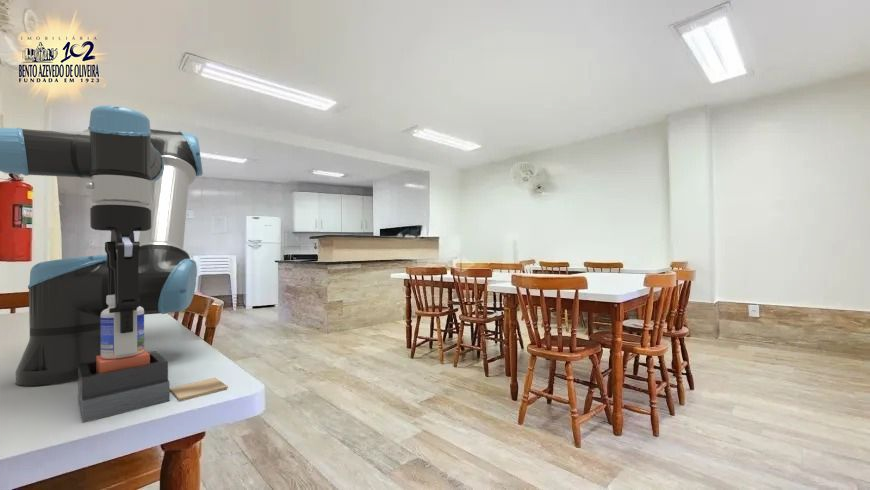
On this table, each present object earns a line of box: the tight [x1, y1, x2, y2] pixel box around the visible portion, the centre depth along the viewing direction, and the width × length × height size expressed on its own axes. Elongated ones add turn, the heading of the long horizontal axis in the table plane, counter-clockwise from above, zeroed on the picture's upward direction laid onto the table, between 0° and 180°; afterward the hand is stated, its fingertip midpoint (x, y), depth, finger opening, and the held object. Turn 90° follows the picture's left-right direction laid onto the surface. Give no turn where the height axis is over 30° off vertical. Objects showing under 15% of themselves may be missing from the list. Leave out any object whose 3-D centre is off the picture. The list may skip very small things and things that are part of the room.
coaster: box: [170, 377, 229, 402], centre depth 63 cm, size 7×7×1 cm
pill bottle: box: [101, 294, 145, 359], centre depth 60 cm, size 5×5×10 cm
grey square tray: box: [77, 350, 171, 423], centre depth 59 cm, size 12×10×6 cm
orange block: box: [96, 348, 150, 374], centre depth 59 cm, size 6×6×5 cm
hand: (123, 349), depth 60 cm, fingers closed on pill bottle, 5 cm apart
